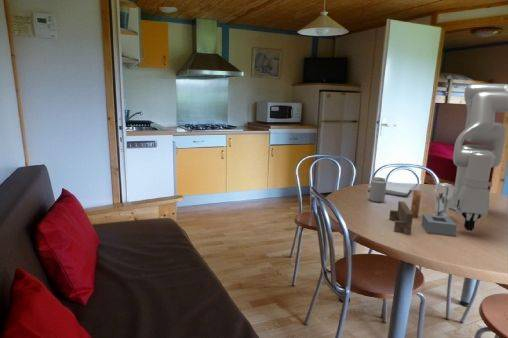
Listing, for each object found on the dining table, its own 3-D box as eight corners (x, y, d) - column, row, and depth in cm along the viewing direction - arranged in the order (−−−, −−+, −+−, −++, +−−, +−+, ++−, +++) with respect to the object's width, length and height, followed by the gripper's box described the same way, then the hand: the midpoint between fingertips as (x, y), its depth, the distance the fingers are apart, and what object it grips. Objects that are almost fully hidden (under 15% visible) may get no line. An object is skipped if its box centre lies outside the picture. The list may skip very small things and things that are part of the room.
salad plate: (407, 198, 185) (407, 192, 185) (366, 192, 196) (367, 186, 195) (412, 190, 203) (413, 185, 202) (375, 185, 214) (376, 179, 213)
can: (386, 203, 174) (389, 180, 172) (371, 202, 174) (374, 179, 172) (381, 199, 182) (383, 176, 179) (367, 198, 182) (369, 176, 179)
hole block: (447, 227, 143) (449, 216, 142) (455, 236, 133) (456, 225, 132) (421, 224, 145) (422, 214, 144) (427, 232, 135) (428, 221, 134)
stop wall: (402, 219, 150) (404, 201, 149) (410, 234, 133) (413, 214, 132) (388, 217, 152) (390, 200, 150) (395, 232, 134) (397, 212, 133)
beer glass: (447, 215, 158) (452, 183, 155) (450, 220, 151) (456, 187, 148) (431, 213, 160) (435, 182, 157) (433, 218, 154) (438, 185, 151)
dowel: (417, 215, 156) (420, 190, 153) (418, 218, 153) (422, 192, 150) (409, 215, 157) (412, 189, 154) (410, 217, 154) (414, 191, 151)
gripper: (493, 184, 134) (485, 228, 138) (451, 180, 138) (445, 224, 141) (502, 188, 127) (493, 235, 131) (457, 184, 131) (450, 230, 134)
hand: (468, 229), depth 136 cm, fingers closed
